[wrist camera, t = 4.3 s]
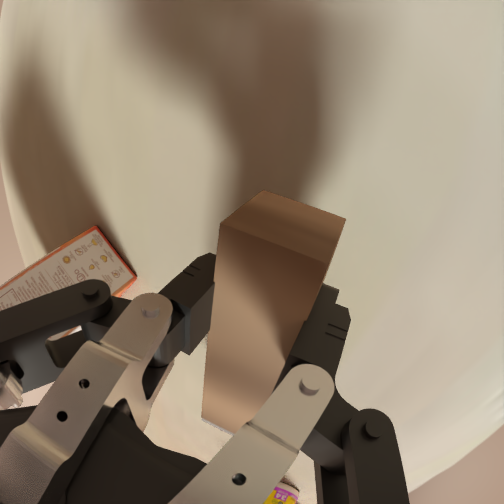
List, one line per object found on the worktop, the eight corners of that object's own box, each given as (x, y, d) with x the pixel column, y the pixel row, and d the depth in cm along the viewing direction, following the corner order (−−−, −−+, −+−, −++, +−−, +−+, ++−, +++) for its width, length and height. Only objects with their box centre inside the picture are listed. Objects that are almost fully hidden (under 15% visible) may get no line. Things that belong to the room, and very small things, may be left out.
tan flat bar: (237, 181, 11) (189, 211, 8) (374, 229, 9) (366, 278, 7) (206, 412, 21) (187, 441, 18) (266, 440, 19) (250, 472, 17)
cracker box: (97, 328, 31) (-24, 442, 14) (65, 287, 30) (-61, 392, 13) (144, 280, 22) (-54, 462, 6) (98, 221, 22) (-111, 373, 5)
